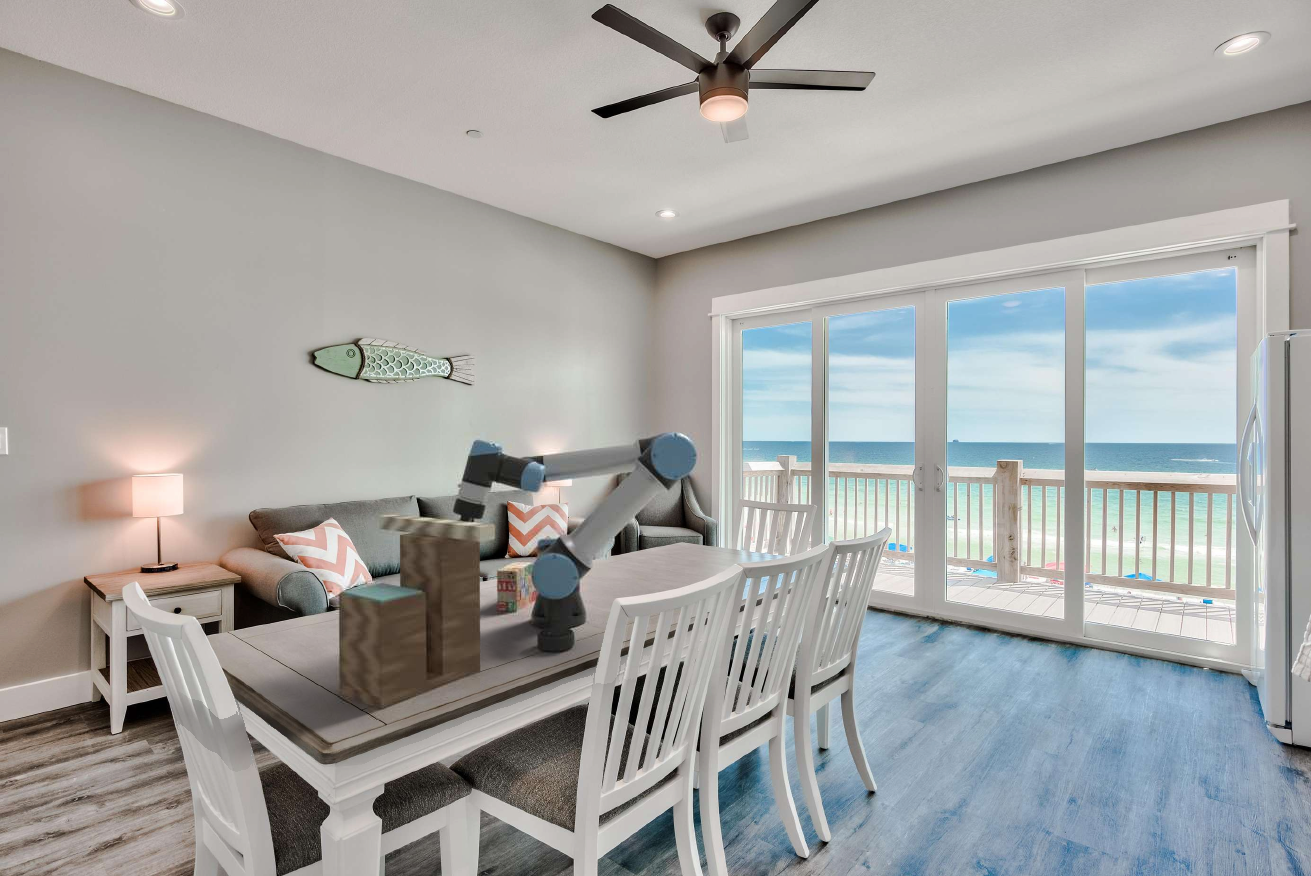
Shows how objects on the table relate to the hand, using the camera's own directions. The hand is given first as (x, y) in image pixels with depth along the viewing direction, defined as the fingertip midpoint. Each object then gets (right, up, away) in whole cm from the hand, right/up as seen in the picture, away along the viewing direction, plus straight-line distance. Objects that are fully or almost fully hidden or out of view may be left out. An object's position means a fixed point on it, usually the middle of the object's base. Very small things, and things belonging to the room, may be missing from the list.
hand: (447, 583), depth 164 cm
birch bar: (+3, +15, -20) cm, 25 cm away
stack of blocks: (+11, -15, +38) cm, 42 cm away
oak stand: (+1, -15, -26) cm, 30 cm away
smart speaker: (+28, -15, -4) cm, 32 cm away
